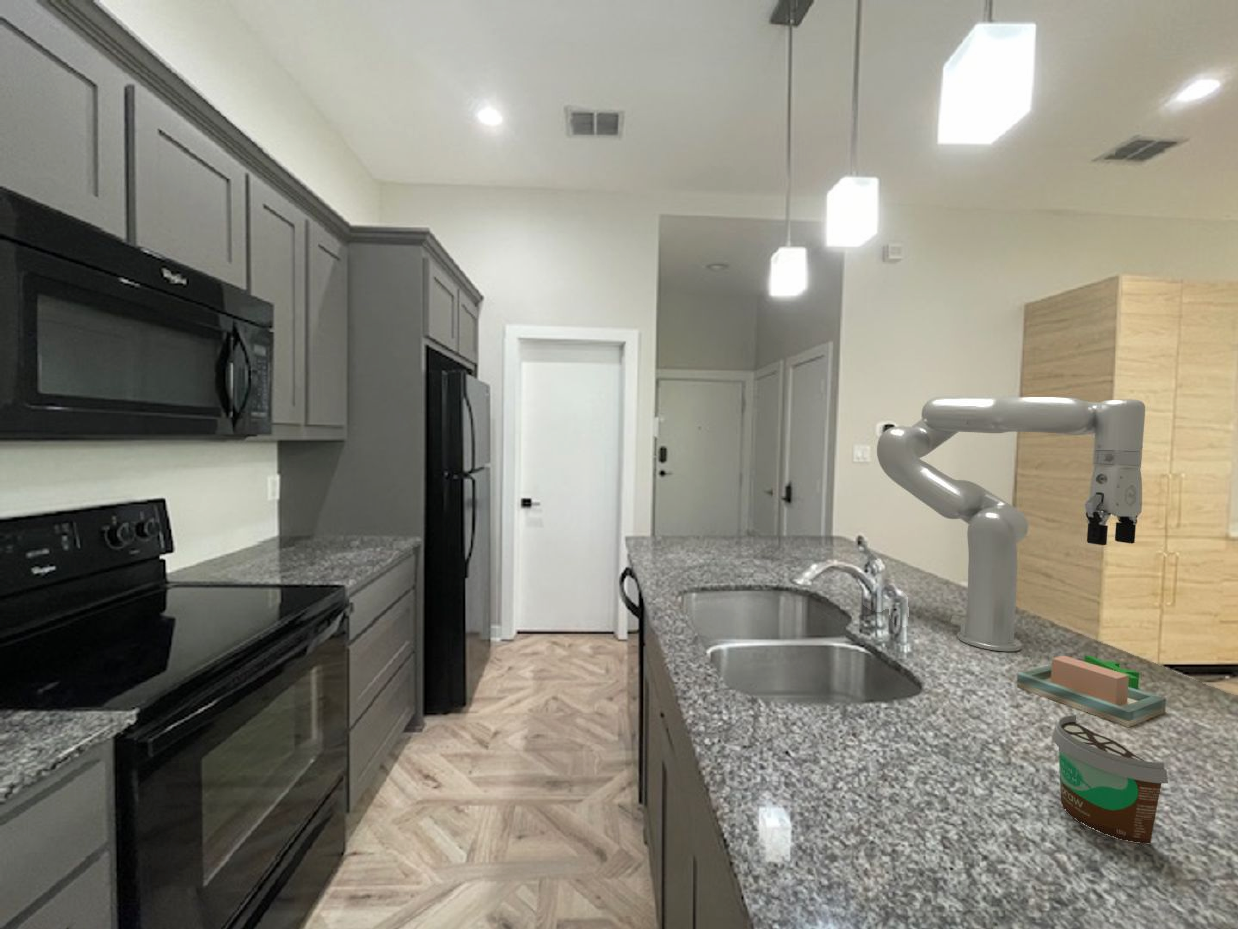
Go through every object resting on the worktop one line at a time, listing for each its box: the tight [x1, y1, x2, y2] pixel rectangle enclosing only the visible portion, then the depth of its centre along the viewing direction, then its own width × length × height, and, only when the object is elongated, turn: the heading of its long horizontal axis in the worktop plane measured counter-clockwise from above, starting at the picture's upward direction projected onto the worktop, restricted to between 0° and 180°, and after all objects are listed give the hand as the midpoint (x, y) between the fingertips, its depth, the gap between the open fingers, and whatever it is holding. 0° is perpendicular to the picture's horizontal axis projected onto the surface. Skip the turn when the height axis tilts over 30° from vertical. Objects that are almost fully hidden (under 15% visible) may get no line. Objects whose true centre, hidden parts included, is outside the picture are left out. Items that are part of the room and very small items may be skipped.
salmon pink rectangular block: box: [1051, 655, 1129, 706], centre depth 104 cm, size 4×10×5 cm, turn 26°
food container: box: [1051, 714, 1169, 844], centre depth 69 cm, size 12×6×10 cm, turn 5°
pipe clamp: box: [1084, 654, 1140, 690], centre depth 109 cm, size 11×4×5 cm, turn 177°
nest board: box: [1016, 664, 1167, 728], centre depth 104 cm, size 17×13×2 cm
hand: (1110, 543), depth 117 cm, fingers open, 9 cm apart
